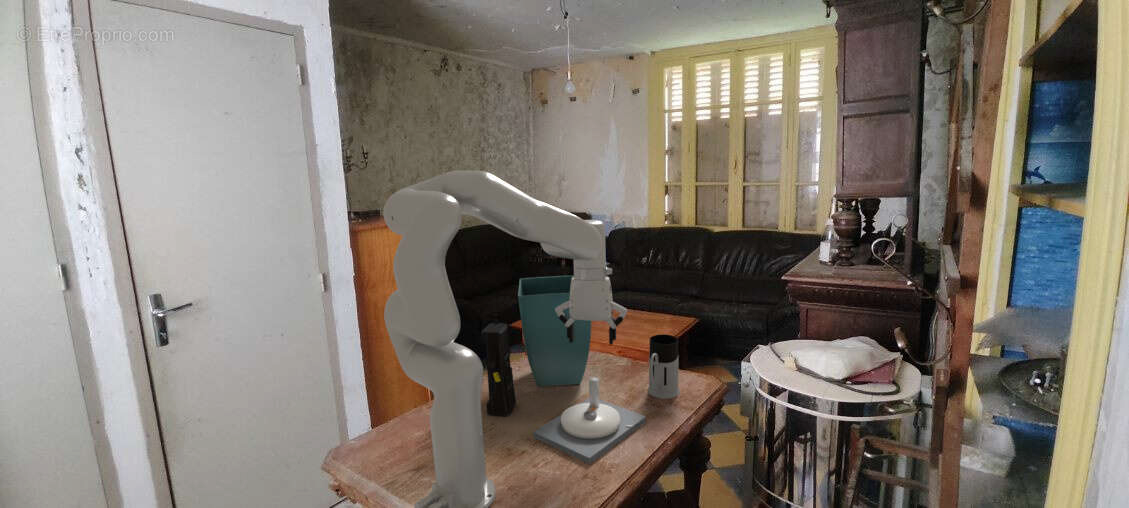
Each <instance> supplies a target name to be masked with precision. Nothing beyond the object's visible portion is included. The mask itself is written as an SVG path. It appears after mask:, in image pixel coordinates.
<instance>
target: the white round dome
mask: <svg viewBox="0 0 1129 508" xmlns="http://www.w3.org/2000/svg"><path fill="white" fill-rule="evenodd" d="M599 379H600V378H598V377H593V376H592V377H590V378H588V391H589V393H588V395H589V396H588V398H589V400H590V403H582V404H580V403H577V404H574V405H572V406H570V407H568V408H566V409H565V410H564V411H563V412H562V413H561V414H562V416H561V425H562V428H563V430H564V431H565V432H567V433H568V434H570V435H572V436H575V437H578V438H584V439H597V438H602V437H606V436H609V435H611V434H613V433H614V432H616V431H617V430H618V428H619V426H620V415H619V413H618V412H617V411H616V410H615V409H614V408H612V407H610V406H608V405H605V404H600V403H599V399H600V385H599V384H600V380H599Z"/></svg>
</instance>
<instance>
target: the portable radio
mask: <svg viewBox="0 0 1129 508" xmlns="http://www.w3.org/2000/svg"><path fill="white" fill-rule="evenodd" d="M497 316H498V314H494V317H495V321H494V322H493V323H489V324H488V325H486V327H484V328H483V329H482V330H481V332H480V336H481V338H480V339H481V343H484V345H485V357H486V360H485V361H486V372H487V384H488V385H487V386H488V397H489V398H488V401H487V403H486V414H487V415H489V416H497V417H498V416H499V417H508V416H509V415H510V414H511V413H512V411H513V410H514V407H515V405H516V404H517V400H516V394H515V386H514V383H515V382H514V375H513V374H514V373H513V367H512V366H511V359H510V355H511V346H510V345H511V344H510V331H509V326H508V323H502V322H499V320H498V317H497Z"/></svg>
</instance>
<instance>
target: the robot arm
mask: <svg viewBox="0 0 1129 508" xmlns="http://www.w3.org/2000/svg"><path fill="white" fill-rule="evenodd" d="M382 212H383V219H384V222H385V224H386V226H387V227H388V229H389V230H390V231H391V232H393V233H394V234H397V235H398V236H401V239H400V240H399V243H398V245H397V248H396V251H395V252H394V253H395V254H394V258H393V265H392V266H393V268H392V269H393V276H394V280H395V282H396V287H397V289H396V290H395V291H393V292H392V293H391V294H390V295H389V297H388V298H387V300H386V303H385V306H384V312H383V317H384V323H385V327H386V331H387V332H388V333H387V334H388V337H389V338H390V341H391V344H392V347H393V350H394V351H395V352H394V353H395V355H396V357H397V360H398V362H399V364H400V367H401V368H402V370H403V372H404V374H405V375H406V376H407V377H408V378H409V379H411V380H412V381H413V382H415V383H417V384H418V385H421V386H423V387H425V388H426V389H428V390H429V391H431V392H432V393H433V403H432V406H431V408H430V414H429V424H430V432H431V442H432V443H431V444H432V450H433V451H432V452H433V462H434V463H433V464H434V472H435V473H434V474H435V482H434V483H432V484H431V485H430V486H431V491H430V492H428V494H427V496H425V497H422V498H421V499H419V500H417V501H416V502H414V508H489V507H490V506H491V505H492V504H493V502H494V501H495V498H496V486H495V484H494V482H493V481H492V480H491V479H490V478H489V477H487V470H486V457H485V445H484V430H483V417H482V389H483V382H484V381H483V380H484V366H483V362H482V361H481V358H480V357H479V356H478V354H476V353H475V352H474V351H473V350H472V349H470V348H468V347H466V346H465V345H462V344H459V343H457V342H454V341H455V340H456V339H457V337H458V335H459V334H460V331H461V316H460V313H459V309H458V306H457V303H456V300H455V297H454V294H453V291H452V288H451V284H450V281H449V278H448V274H447V269H446V265H445V264H446V256H447V253H448V252H447V251H448V249H449V247H450V245H451V243H452V242H453V241H452V240H453V239H454V238H455V236H456V234H457V233H458V232H459V230H460V226H461V223H462V219H463V217H462V216H463V215H464V216H466V215H467V216H472V217H474V218H477V219H478V220H479V219H480V220H481V221H483V222H485V223H487V224H488V225H489V224H490V225H492V226H493V227H495V228H497V229H499V230H501V231H503V232H505V233H507V234H509V235H511V236H514V237H516V238H519V239H522V240H526V241H528V242H530V241H531V242H535V243H540V246H541V248H542V250H543V251H544V252H545V253H547V255H550V256H552V257H555V258H562V259H563V258H564V259H570V260H573V275H574V277H572V280H571V286H570V297H569V301H567V302H565V303H563V304H561V305H559V306H557V307H556V308H555V311H556V313H557V315H558V316H559V319H560V320H561V321H562V322H563V323H564V324H565V326H566V327H567V338H569V342H570V343H572V342H573V341H574V339H575V333H574V323H573V322H574V321H575V320H586V321H591V322H593V321H595V322H606V323H607V324H608V325H609V330H608V337H609V338H608V343H609V345H612V346H613V345H614V344H613V343H614V341H616V340H617V327H618V326H619V325H620V324H621V323H622V322H623V320H624V319H625V318H626V315H627V313H628V309H627V308H626V307H624V306H623V305H620V304H619V303H616V302H614V301H613V291H612V285H611V280H610V277H609V276H608V275H612V274H613V268H612V267H610V268H609V267H608V266H607V264H606V263H607V262H606V260H607V258H606V252H607V251H606V226H605V224H604V222H603V221H601V220H598V219H583V218H581V217H579V216H577V215H575V214H572V213H571V212H568V211H566V210H563V209H560V208H558V207H555V206H553V205H551V204H548V203H546V202H543V201H541V200H537V199H536V198H533V197H531V196H529V195H528V194H526V193H524V192H523V191H521V190H520V189H518V188H516V187H514V186H513V185H511V184H509V183H508V182H506V181H504V180H502V179H501V178H499V177H498V176H497V175H494V174H493V173H490V172H488V171H484V170H452V171H449V172H445V173H442V174H440V175H437V176H434V177H431V178H429V179H427V180H423V181H421V182H418V183H415V184H413V185H412V184H411V185H409V186H407V187H403V188H402V189H398V190H397V191H395V192H394V193H392V194H391V196H390V197H389V198H388V199H387V201H386V202H385V204H384V207H383V211H382ZM568 307H569V315H570V317H569V318H568V317H567V316H566V315H565V314H564V313H563V310H564V309H566V308H568ZM614 311H616V312H618V313H619V315H618V316H617V317H616V318H615V317H614V316H613V314H614V313H613V312H614Z"/></svg>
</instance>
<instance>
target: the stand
mask: <svg viewBox="0 0 1129 508" xmlns="http://www.w3.org/2000/svg"><path fill="white" fill-rule="evenodd" d="M582 403H590V400H589V397H587V398H586V399H585V400H583V401H582V402H580V403H579V404H582ZM599 403H600V404H605V405H608V406H610V407H612V408H614V409H615V410H616V411H617V412H618V413H619V415H620V426H619V428H618V430H617V431H616V432H614V433H613V434H611V435H609V436H606V437H602V438H597V439H584V438H578V437H575V436H572V435H570V434H568V433H567V432H565V431H564V430H563V428H562V425H561V416H562V413H561V414H560V415H558V416H556V417H554V418H553V419H552V420H550V421H548V422H546V423H545V424H543V425H541V426H540V427H538V428H536V429H535V430H533V431H532V438H534V439H535V440H537V439H538V441H540V442H542V443H544V444H546V445H548V446H550V447H552V446H553V448H554V447H555V448H554V449H556V448H557V450H558V449H559V451H561V452H563V453H565V454H567V455H569V456H571V457H573V458H576V459H578V460H580V461H582V462H584V463H587V464H588V465H591V464H592V463H594V462H595V461H596V460H598V459H600V457H602V456H603V455H604V454H606V453H607V452H608V451H609V450H610V449H612V448H614V446H616V445H618V444H619V443H620V442H621V441H624V439H625V438H627V437H628V436H629V435H631V434H632V433H633V432H635V431H636V430H637V429H639V428H640V427H642V426H643V425H644V424H646V422H647V416H646V415H643V414H640V413H639V412H635V411H634V410H633V411H632V410H630V409H627V408H625V407H622V406H619V405H616V404H613V403H612V402H611V403H610V402H607V401H605V400H603V399H600V398H599Z"/></svg>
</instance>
